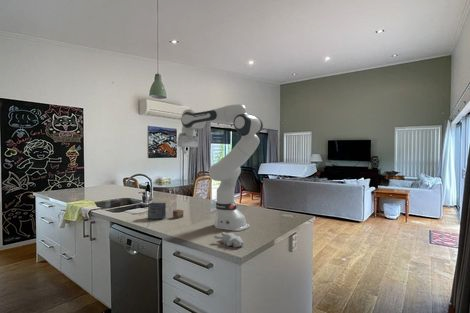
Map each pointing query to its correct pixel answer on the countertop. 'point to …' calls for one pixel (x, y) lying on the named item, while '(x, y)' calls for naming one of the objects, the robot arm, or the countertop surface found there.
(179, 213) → the walnut cube
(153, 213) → the small box
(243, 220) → the robot arm
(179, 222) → the countertop surface
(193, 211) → the countertop surface
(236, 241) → the bunny figurine
